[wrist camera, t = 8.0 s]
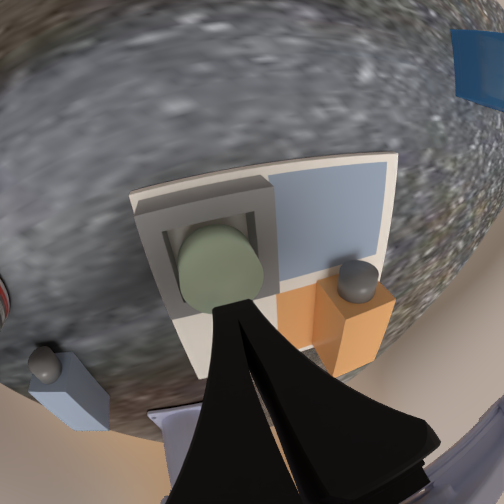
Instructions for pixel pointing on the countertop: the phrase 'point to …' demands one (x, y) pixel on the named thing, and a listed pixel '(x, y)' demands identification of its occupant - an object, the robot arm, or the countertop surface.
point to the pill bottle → (3, 304)
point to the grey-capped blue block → (68, 390)
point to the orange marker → (350, 317)
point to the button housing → (200, 210)
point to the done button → (218, 268)
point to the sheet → (299, 234)
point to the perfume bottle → (479, 67)
